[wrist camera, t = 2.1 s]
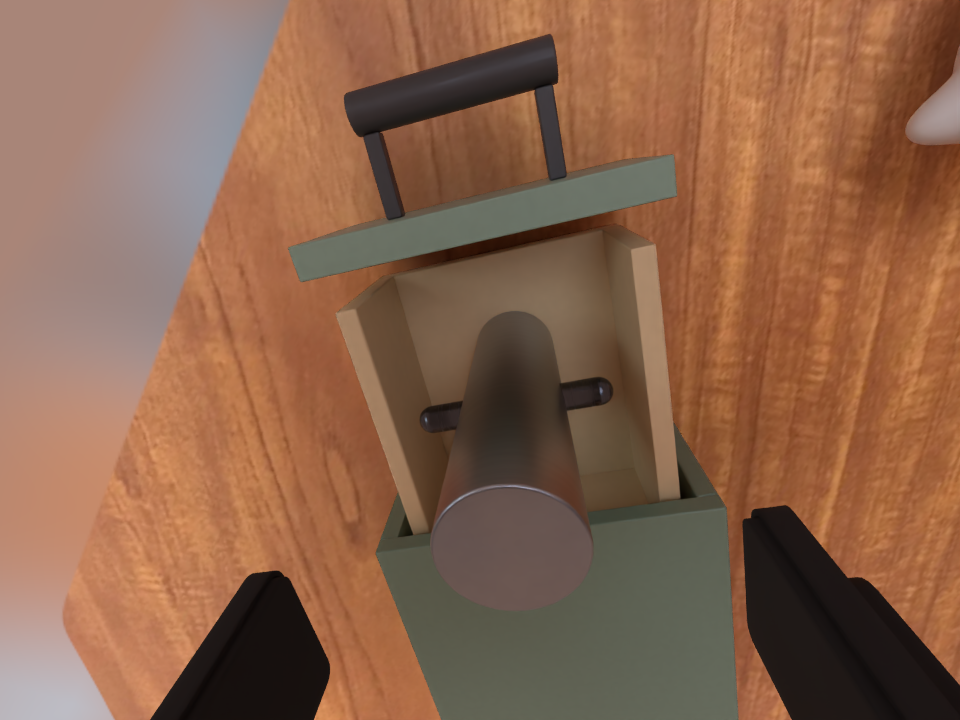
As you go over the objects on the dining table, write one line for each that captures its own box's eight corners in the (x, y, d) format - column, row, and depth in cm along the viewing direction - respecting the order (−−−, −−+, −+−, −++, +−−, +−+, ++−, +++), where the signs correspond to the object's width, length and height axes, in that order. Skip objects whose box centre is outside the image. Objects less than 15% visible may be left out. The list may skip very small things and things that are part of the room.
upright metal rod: (453, 393, 24) (384, 627, 12) (434, 326, 22) (335, 509, 10) (594, 367, 22) (682, 596, 10) (583, 295, 21) (668, 460, 9)
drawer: (321, 124, 20) (233, 104, 14) (612, 43, 19) (661, -23, 12) (439, 495, 27) (415, 593, 21) (659, 463, 25) (706, 560, 19)
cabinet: (416, 440, 27) (374, 553, 19) (660, 400, 25) (727, 507, 17) (482, 643, 33) (470, 794, 25) (684, 624, 31) (742, 782, 23)
